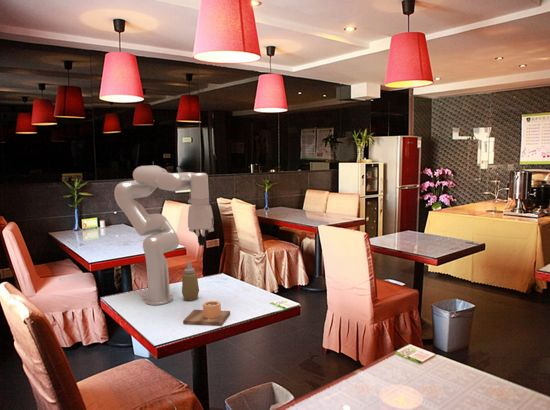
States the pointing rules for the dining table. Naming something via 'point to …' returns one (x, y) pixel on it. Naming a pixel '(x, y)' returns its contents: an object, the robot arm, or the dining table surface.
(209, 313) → the terracotta pot
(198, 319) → the hub board
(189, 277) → the squeeze bottle
